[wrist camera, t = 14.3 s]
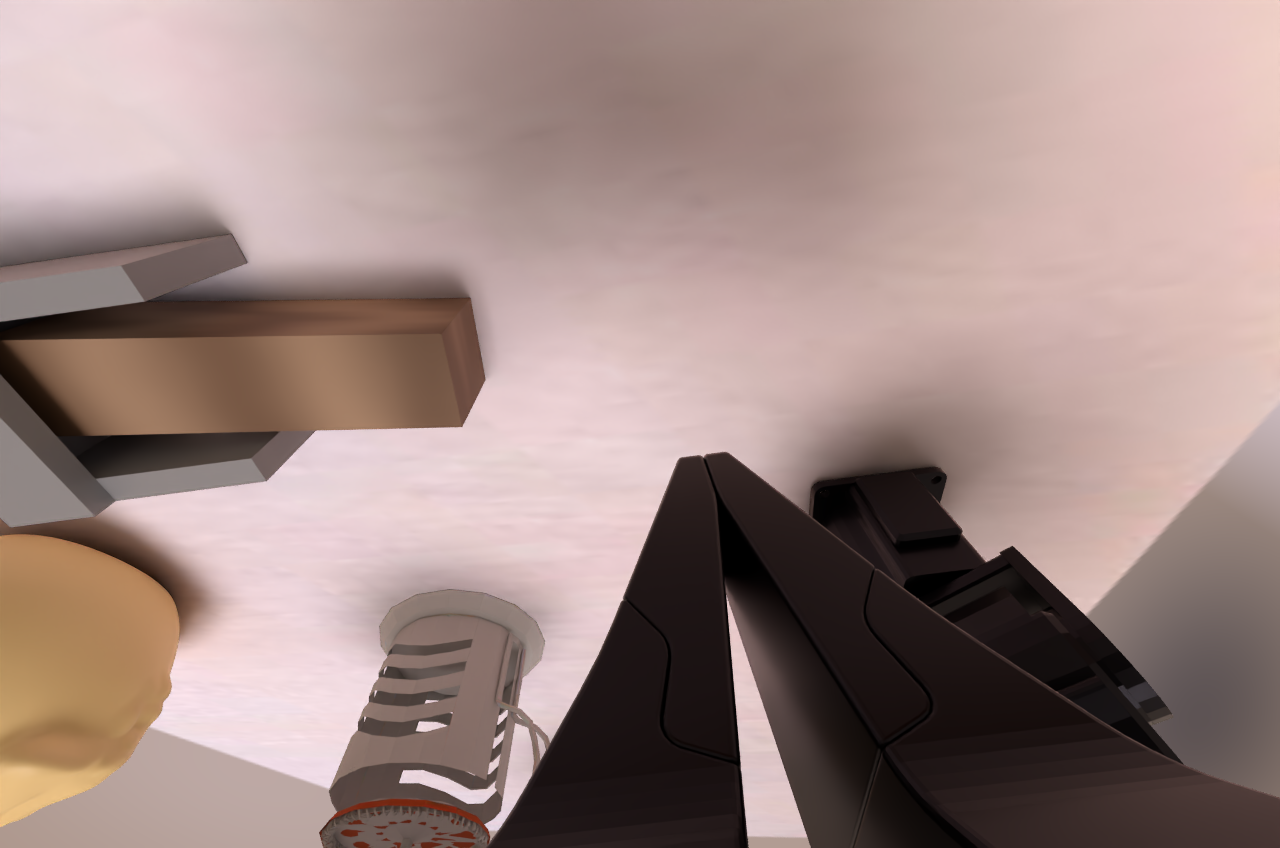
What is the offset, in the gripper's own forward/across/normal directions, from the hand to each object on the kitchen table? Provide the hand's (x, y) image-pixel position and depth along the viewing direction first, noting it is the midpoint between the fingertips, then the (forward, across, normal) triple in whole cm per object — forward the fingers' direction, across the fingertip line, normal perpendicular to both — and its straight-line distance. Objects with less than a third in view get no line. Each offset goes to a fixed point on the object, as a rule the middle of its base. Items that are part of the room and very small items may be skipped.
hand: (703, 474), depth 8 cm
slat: (+12, +14, 0) cm, 19 cm away
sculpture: (+12, +31, +12) cm, 35 cm away
